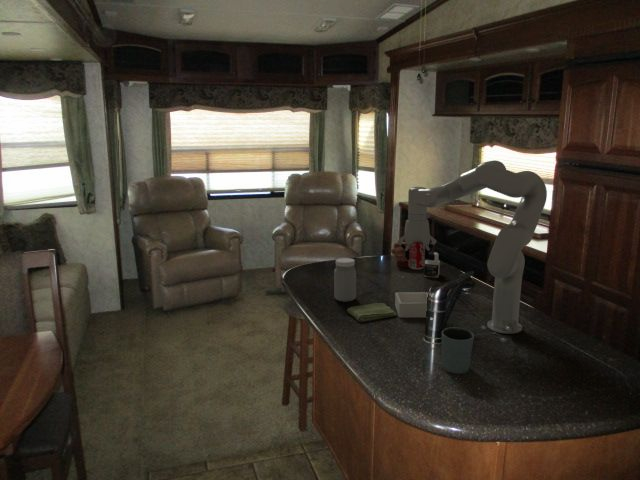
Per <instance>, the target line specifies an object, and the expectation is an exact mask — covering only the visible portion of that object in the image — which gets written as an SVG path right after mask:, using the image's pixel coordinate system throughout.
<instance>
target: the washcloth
mask: <svg viewBox="0 0 640 480" xmlns="http://www.w3.org/2000/svg"><path fill="white" fill-rule="evenodd" d="M346 311H347V313H348V314H350V315H351V317H354V318H355V319H356V320H357V321H358V322H359V323H363V322H370V321H376V320H381V319H387V318H393V317H396V316H397V315H398V313H397V312H395V311H394V310H393V309H391V307H390V306H387V304H386V303H384V302H379V303H378V302H375V303H369V304H364V305H354V306H351V307H348V308H347V310H346Z"/></svg>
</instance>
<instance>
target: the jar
mask: <svg viewBox="0 0 640 480" xmlns="http://www.w3.org/2000/svg"><path fill="white" fill-rule="evenodd" d="M355 263H356V260H355V259H354V258H351V257H339V258H337V259H335V268H334V270H333V283H334V286H333V287H334V288H333V289H334V290H333V291H334V293H333V297H334V298H335V300H336V301H338V302H341V301H342V302H343V303H347V302H348V303H349V301H350V302H353V301H354V300H355V299H356V297H357V270H356V267H355ZM342 302H341V303H342Z"/></svg>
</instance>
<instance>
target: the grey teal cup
mask: <svg viewBox="0 0 640 480" xmlns="http://www.w3.org/2000/svg"><path fill="white" fill-rule="evenodd" d="M474 339H475V334H474V333H473V331H472V330H470V329H468V328H463V327H456V326H453V327H445V328H444V329H442V330H441V367H442V369H443V370H444V371H446V372H448V373H450V374H457V375H459V374H460V375H462V374H465V373H467V372H469V369H470V364H471V356H472V350H473V346H474Z"/></svg>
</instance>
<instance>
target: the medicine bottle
mask: <svg viewBox="0 0 640 480" xmlns="http://www.w3.org/2000/svg"><path fill="white" fill-rule="evenodd" d="M439 256H440V255H439V253H438V252H436V251H429V258H427V260H425V266H424V267H423V277H424V278H426V277H427V278H435V279H437V278H439V276H440V265H441V261H440V260H439Z"/></svg>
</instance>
